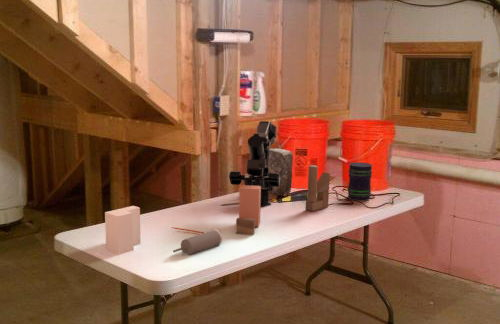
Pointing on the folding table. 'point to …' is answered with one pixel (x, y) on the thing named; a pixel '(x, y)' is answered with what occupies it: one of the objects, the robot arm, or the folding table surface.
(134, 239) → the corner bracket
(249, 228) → the rail
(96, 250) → the folding table surface
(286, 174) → the stone block
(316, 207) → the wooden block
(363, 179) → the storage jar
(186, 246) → the motor
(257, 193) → the block
